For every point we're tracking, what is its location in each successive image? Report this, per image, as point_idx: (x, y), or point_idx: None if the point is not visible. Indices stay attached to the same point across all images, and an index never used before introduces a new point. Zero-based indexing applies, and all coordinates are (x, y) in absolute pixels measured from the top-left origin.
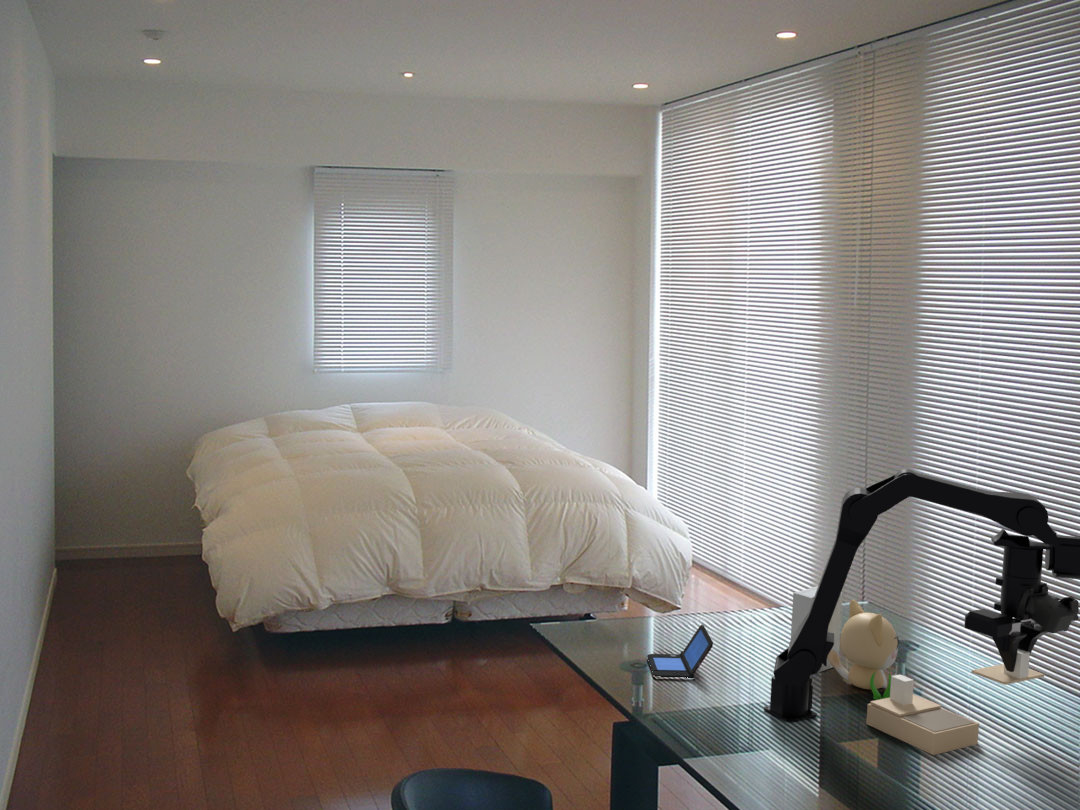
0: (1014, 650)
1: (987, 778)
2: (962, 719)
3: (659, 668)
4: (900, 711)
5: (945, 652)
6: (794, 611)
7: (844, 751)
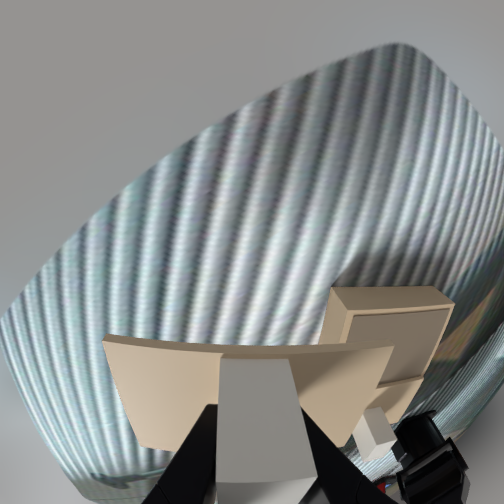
0: (366, 494)
1: (449, 174)
2: (357, 338)
3: (386, 486)
4: (411, 388)
5: (72, 457)
6: None
7: (475, 336)
